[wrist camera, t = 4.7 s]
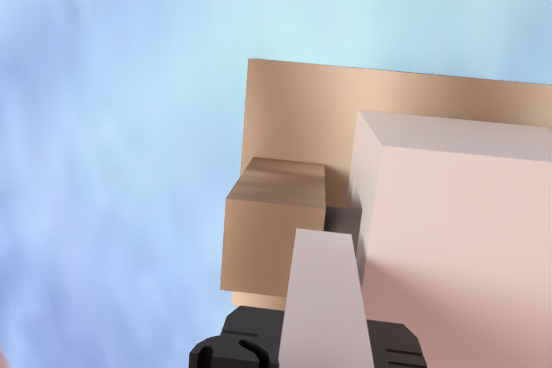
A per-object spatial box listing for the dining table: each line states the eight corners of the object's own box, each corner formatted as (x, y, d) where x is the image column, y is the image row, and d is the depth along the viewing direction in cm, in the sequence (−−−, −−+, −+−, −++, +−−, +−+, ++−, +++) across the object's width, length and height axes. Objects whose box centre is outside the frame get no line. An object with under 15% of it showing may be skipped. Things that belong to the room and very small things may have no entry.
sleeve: (333, 299, 22) (341, 437, 14) (357, 109, 19) (382, 145, 12) (503, 319, 21) (610, 473, 13) (545, 127, 19) (699, 176, 11)
